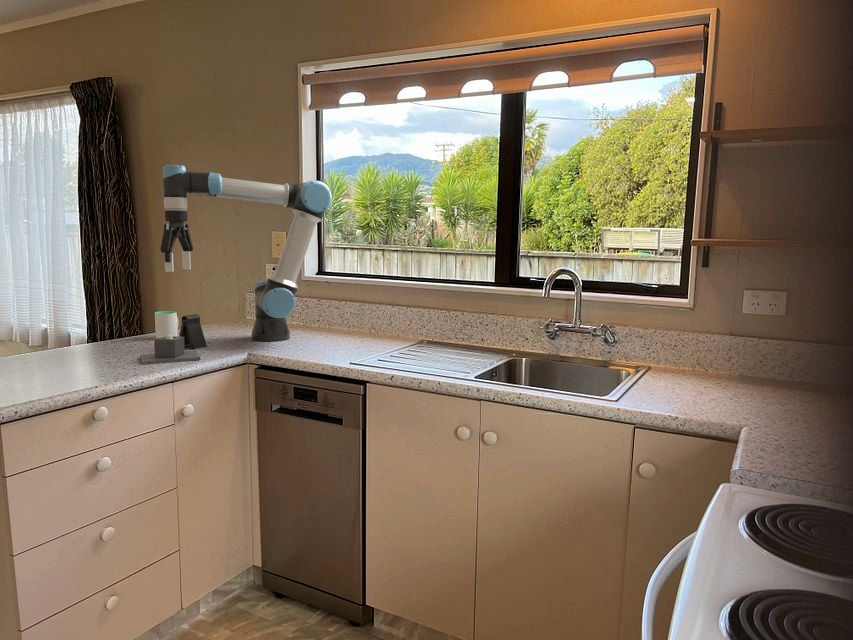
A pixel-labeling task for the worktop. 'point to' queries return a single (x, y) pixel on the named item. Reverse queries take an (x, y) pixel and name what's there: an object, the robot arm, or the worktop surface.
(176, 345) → the gray square frame
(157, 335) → the mug
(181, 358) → the panel
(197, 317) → the phone stand
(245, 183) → the robot arm
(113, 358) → the worktop surface
